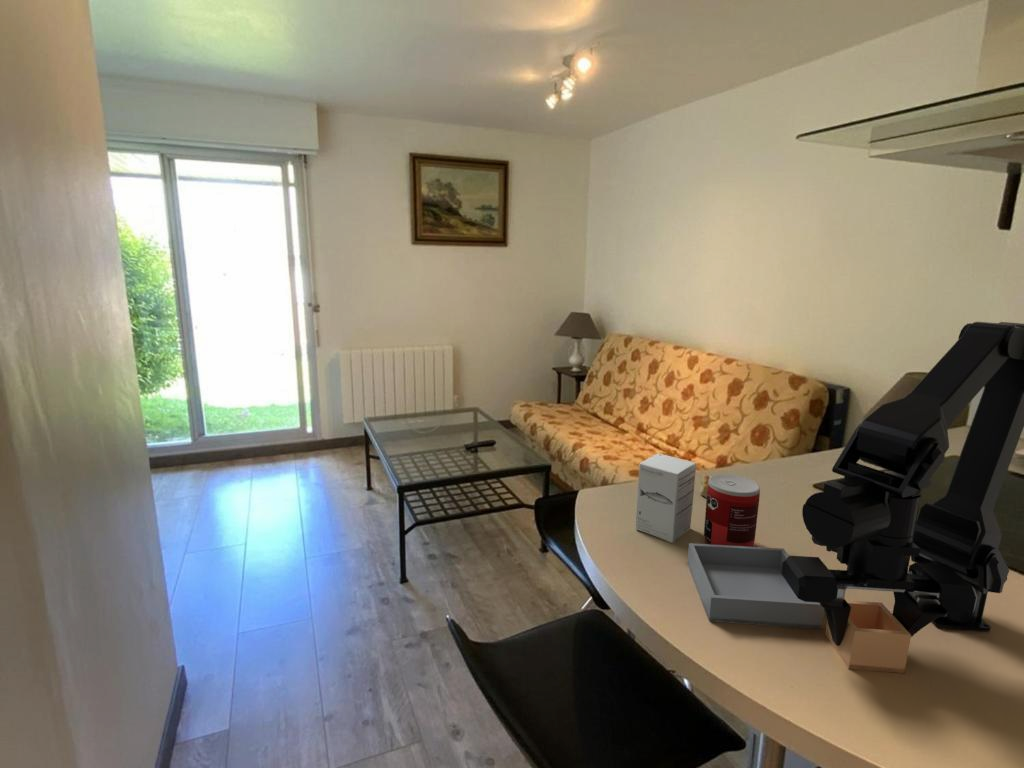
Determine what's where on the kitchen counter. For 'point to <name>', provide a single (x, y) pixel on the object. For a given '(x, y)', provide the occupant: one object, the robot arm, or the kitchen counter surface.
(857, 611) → the small crate
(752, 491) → the canned food
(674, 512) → the supplement box
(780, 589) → the grey square tray
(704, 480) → the pastry
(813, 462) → the kitchen counter surface
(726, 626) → the kitchen counter surface
